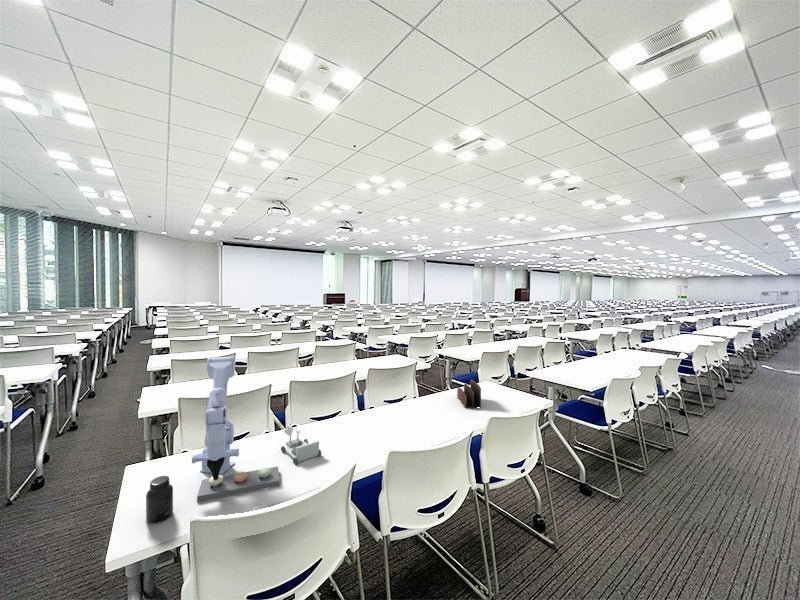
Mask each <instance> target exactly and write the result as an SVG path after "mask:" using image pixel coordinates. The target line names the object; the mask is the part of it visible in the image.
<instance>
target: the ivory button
mask: <svg viewBox="0 0 800 600" xmlns="http://www.w3.org/2000/svg"><path fill="white" fill-rule="evenodd" d="M223 476H224V475H223V474H219V477H218V480H213V476H211V477H210V478H208V479H209V485H213V488H215V487H219V484H220V483H221V482H222V481H223Z"/></svg>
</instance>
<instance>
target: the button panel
mask: <svg viewBox="0 0 800 600" xmlns="http://www.w3.org/2000/svg"><path fill="white" fill-rule="evenodd" d="M269 468H270V469H271V475H270V476H268V477H267V478H263V479H262V478H260V477H259V476H258V472H259V470H260V469H254V470H250V471H245V472H246V473H247V474H248V478H247V479H246V480H245V481H244V482H242V483H238V482H235V481H234V476H235V475H236V474H237V473H233V474H227V475H222V476H223V481H222V482H221V483H220V484H219V487H215V488H213V485H209V479H210V478H204V479H202V480H201V483H200V486H199V489H198V493H197V496H196V502H197V501H200V502H205V501H209V500H214V499H220V498H225V497H230V496H235V495H241V494H244V493H245V494H246V493H250V492H251V493H252V492H255V491H260V490H261V491H262V490H266V489H271V488H275V487H276V488H277V487H279V486H280V471H279V466H274V467H269Z"/></svg>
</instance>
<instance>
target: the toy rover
mask: <svg viewBox="0 0 800 600" xmlns="http://www.w3.org/2000/svg"><path fill="white" fill-rule="evenodd" d="M283 432H284V434H286V436H289V441H286V442H285V445H286V446H287V447H286V446H284V445H282V446H281V447H280V450H281V451H282V452H281V453H282V454H285V453H286V454H287V455H288V456H289V457H290V458H291V459H292V462H293V464H294V465H295V466H297V465H298V464H299V463H300V462H304V461H306V460H308V459H311V458H314V457H317V456H318V457H322V450H321V449H320V448H319V447H320V440H316V441H312V442H310V443H309V441H308V439H307V438H304V439H303V441H302V440H301V439H300V438H299V434H300V433H301V430H299V429H295V433H296V435H297V438H296V439H293V440H292V437H291V436H292V434H293V432H294V427H289V426H287V429H285V430H284V431H283ZM284 452H285V453H284Z"/></svg>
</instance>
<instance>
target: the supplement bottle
mask: <svg viewBox="0 0 800 600" xmlns="http://www.w3.org/2000/svg"><path fill="white" fill-rule="evenodd" d="M173 513H174V486H173V485H172V483H171V484H170V477H169V476H168V475H161V476H160V475H159V476H157V477H155V478H153V479H151V481H150V483H149V489H148V491H147V492H146V495H145V519H146V520H145V521H146V522H147V523H148V524H150V523H156V524H160V523H162V521H163V522H165V521H166V520H168V519H169V518H170V517H172V515H173ZM167 518H168V519H167ZM164 520H165V521H164ZM159 522H160V523H159Z"/></svg>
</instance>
